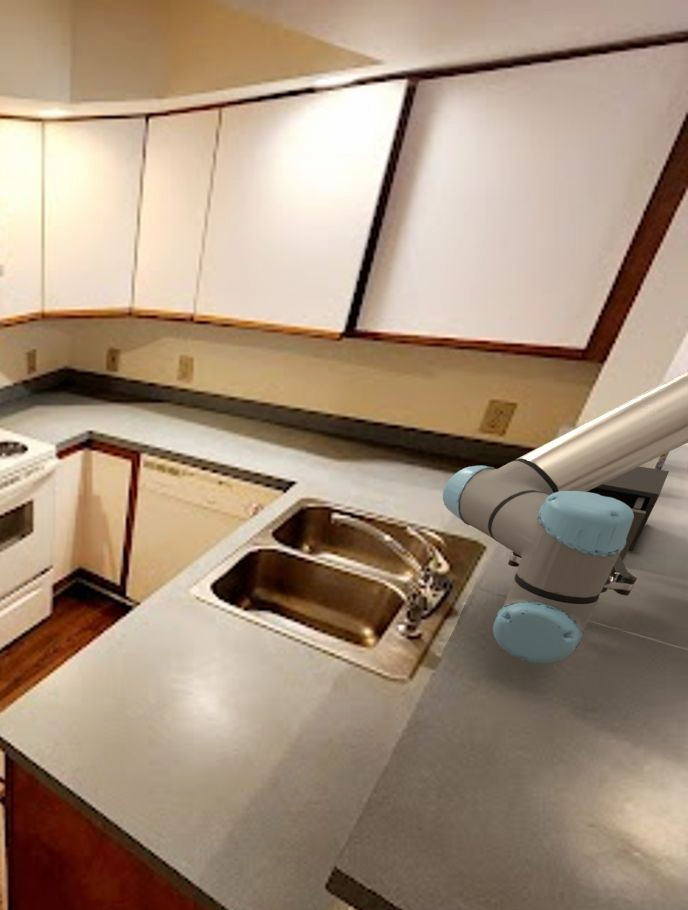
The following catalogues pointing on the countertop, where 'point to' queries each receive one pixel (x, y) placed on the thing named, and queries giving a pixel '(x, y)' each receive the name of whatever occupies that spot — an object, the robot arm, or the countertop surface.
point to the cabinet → (639, 489)
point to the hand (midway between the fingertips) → (588, 534)
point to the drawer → (635, 505)
